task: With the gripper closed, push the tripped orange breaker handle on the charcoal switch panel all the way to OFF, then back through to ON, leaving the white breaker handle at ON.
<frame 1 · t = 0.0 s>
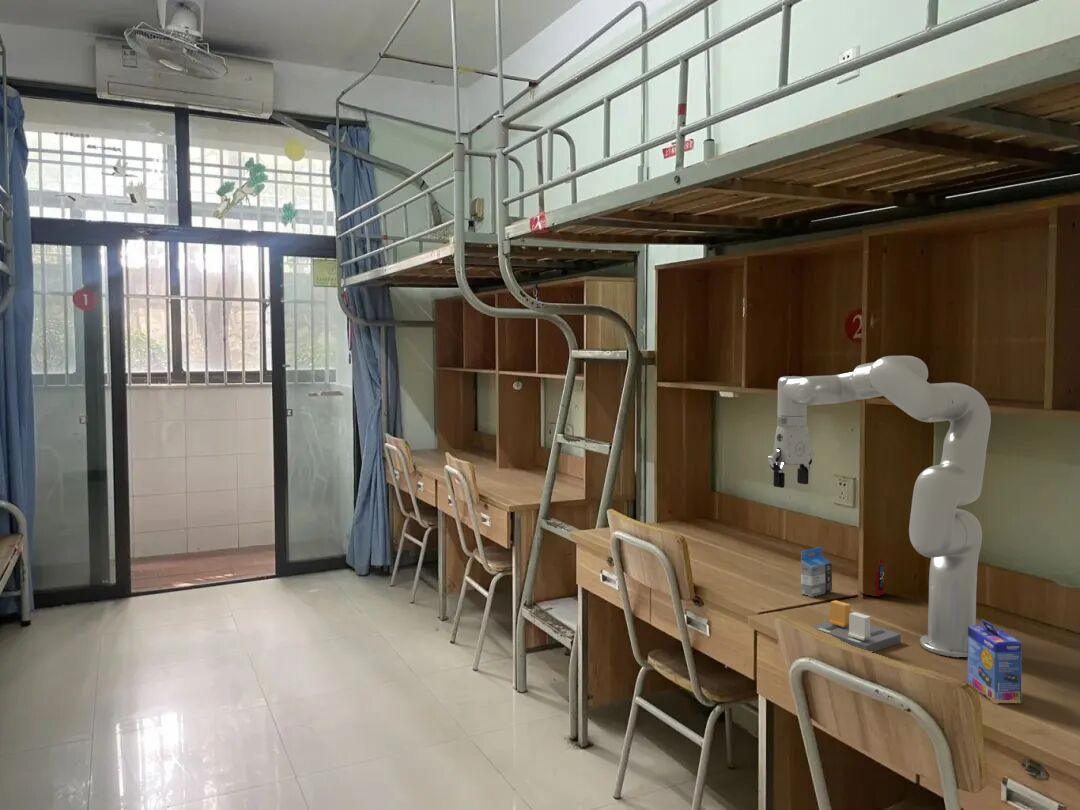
hand: (791, 485, 218), 31 cm above the table, tool pointing down, fingers open, 9 cm apart
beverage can: (871, 594, 224), on the table
ink cartridge box: (992, 695, 158), on the table
breaker panel: (854, 638, 189), on the table
orange breaker handle: (840, 613, 192), point 5 cm above the table, slide at 0.0 cm
label tape box: (816, 594, 224), on the table
white breaker handle: (859, 625, 183), point 5 cm above the table, slide at 4.0 cm
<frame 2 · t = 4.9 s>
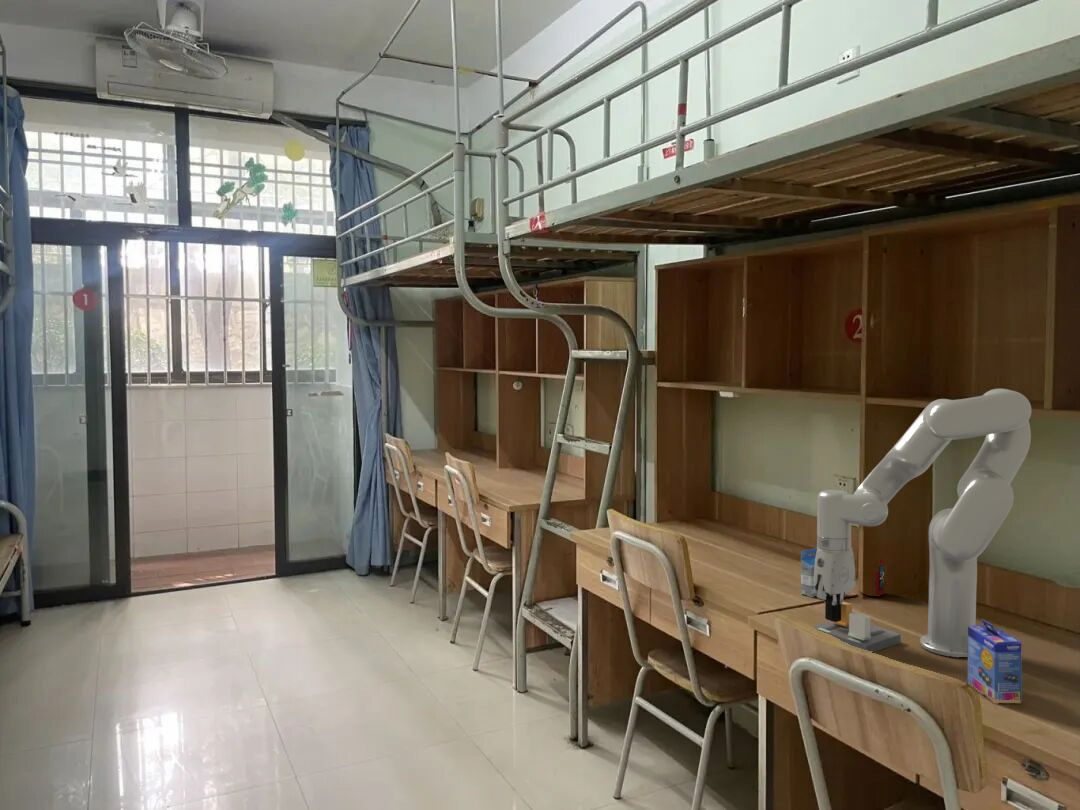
hand: (833, 619, 190), 4 cm above the table, tool pointing down, fingers closed
orange breaker handle: (841, 612, 192), point 5 cm above the table, slide at -0.6 cm, touching gripper
everything else where it was.
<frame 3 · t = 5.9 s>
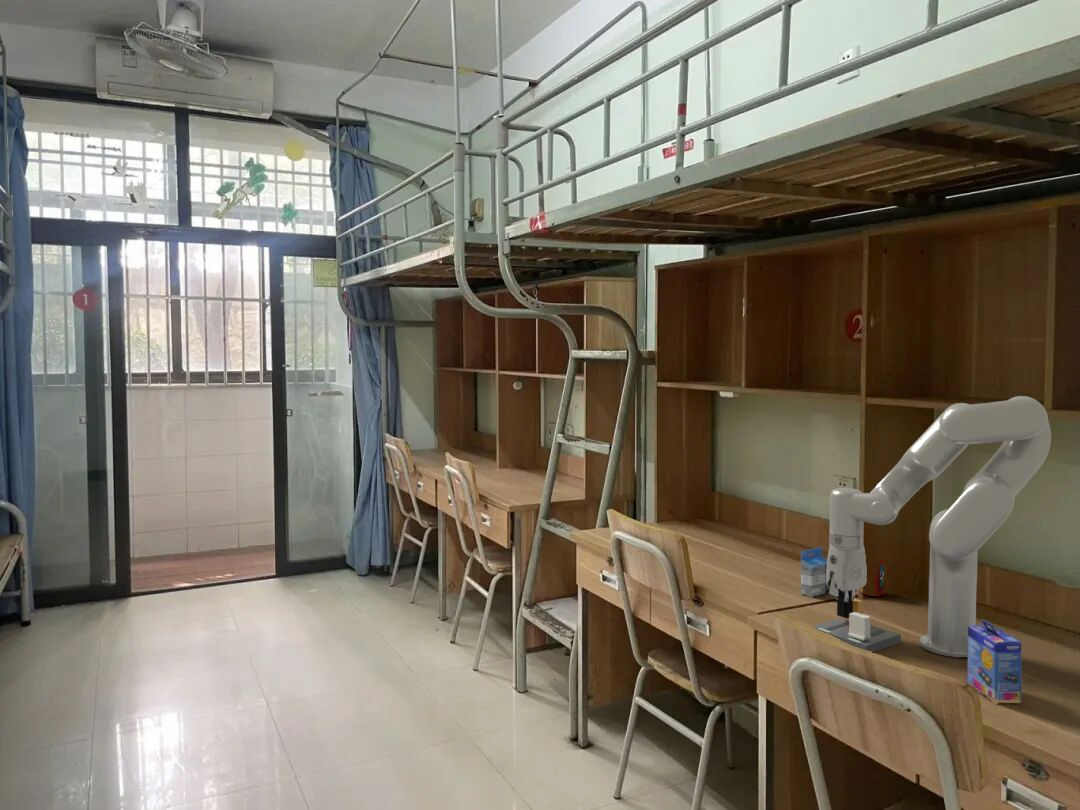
hand: (844, 616, 193), 4 cm above the table, tool pointing down, fingers closed
orange breaker handle: (853, 609, 194), point 5 cm above the table, slide at -4.9 cm, touching gripper
everything else where it was.
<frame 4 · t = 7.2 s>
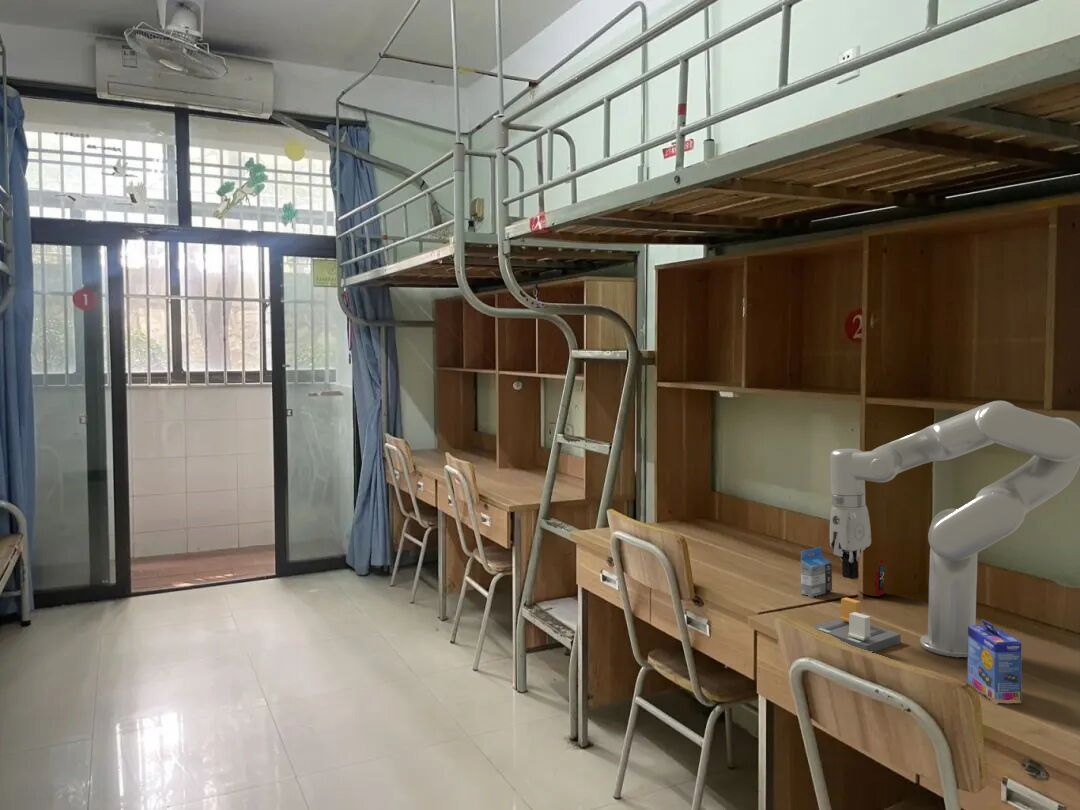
hand: (850, 577, 192), 13 cm above the table, tool pointing down, fingers closed
orange breaker handle: (850, 610, 194), point 5 cm above the table, slide at -4.1 cm
everything else where it was.
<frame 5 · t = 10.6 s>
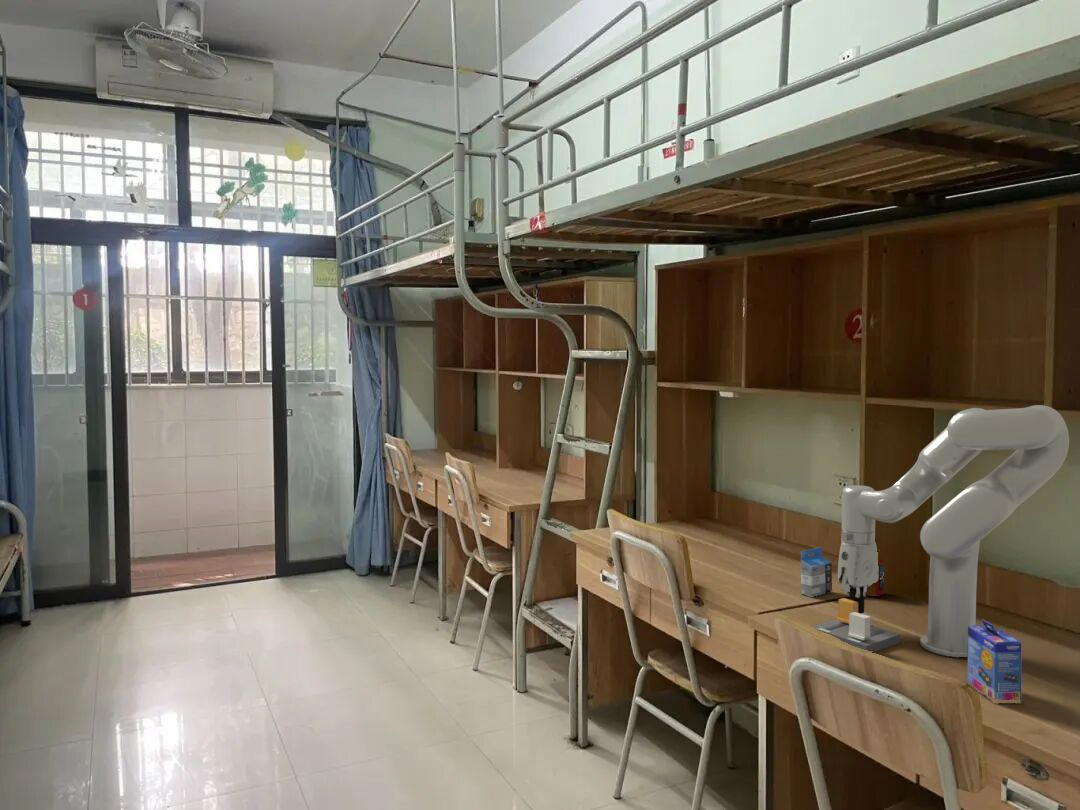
hand: (856, 611, 195), 4 cm above the table, tool pointing down, fingers closed
orange breaker handle: (848, 611, 193), point 5 cm above the table, slide at -3.0 cm, touching gripper
everything else where it was.
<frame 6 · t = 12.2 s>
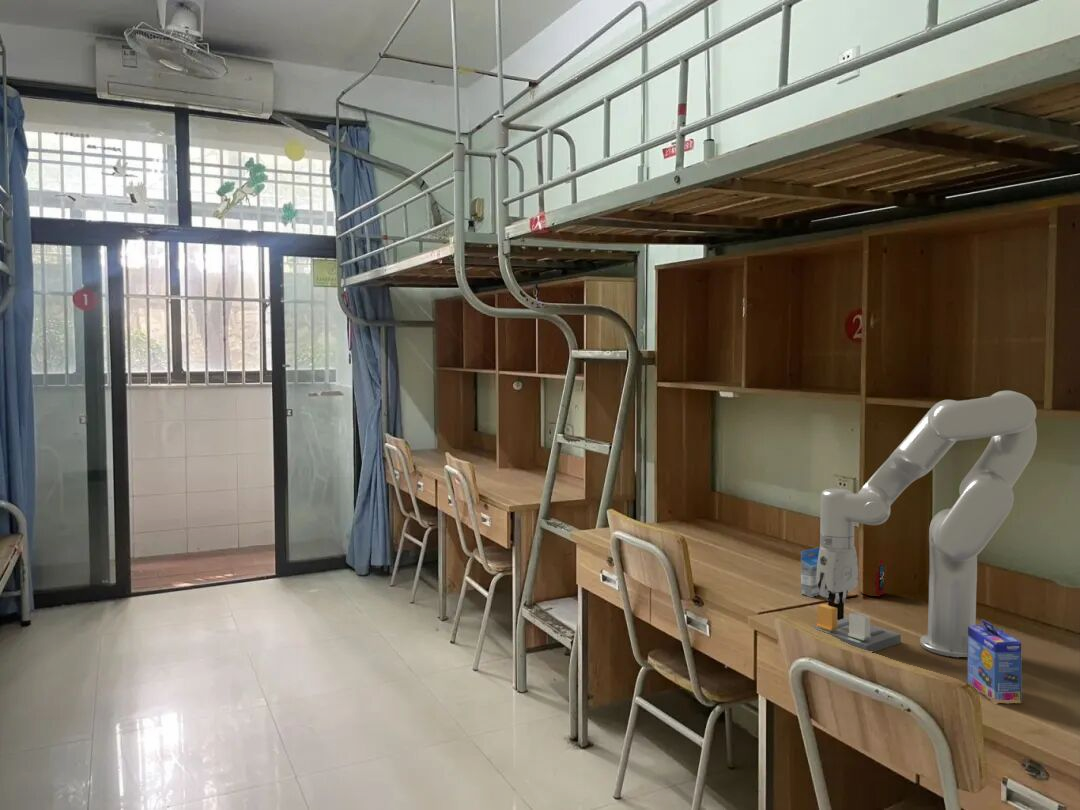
hand: (835, 617, 191), 4 cm above the table, tool pointing down, fingers closed
orange breaker handle: (827, 617, 189), point 5 cm above the table, slide at 4.8 cm, touching gripper
everything else where it was.
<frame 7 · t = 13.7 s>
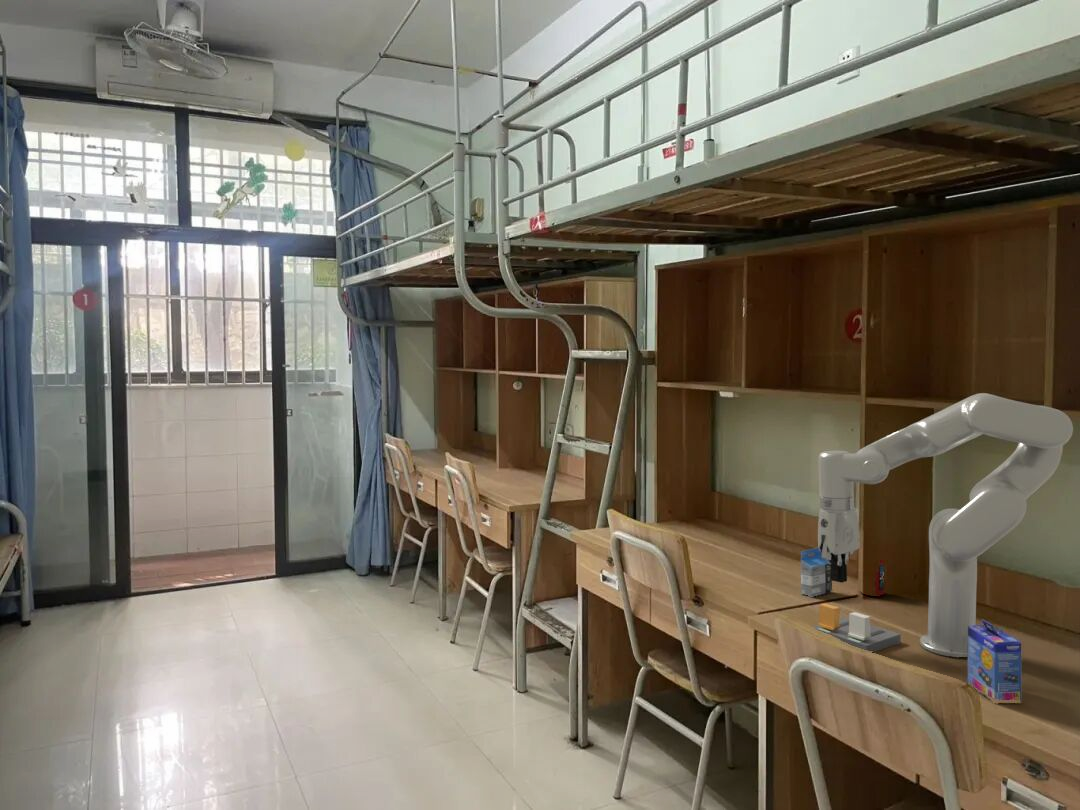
hand: (839, 580, 190), 13 cm above the table, tool pointing down, fingers closed
orange breaker handle: (829, 616, 189), point 5 cm above the table, slide at 4.1 cm
everything else where it was.
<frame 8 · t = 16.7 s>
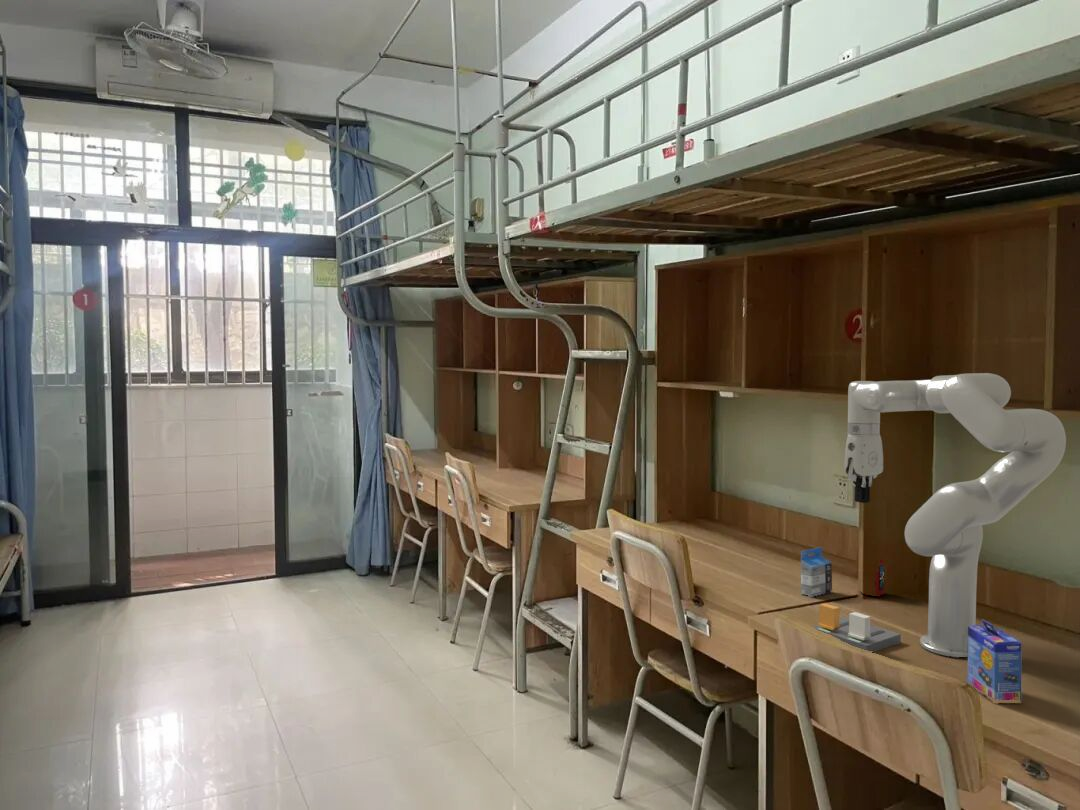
hand: (862, 501, 204), 29 cm above the table, tool pointing down, fingers closed
nothing on the table moved.
at the end: orange breaker handle slide at 4.1 cm; white breaker handle slide at 4.0 cm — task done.
